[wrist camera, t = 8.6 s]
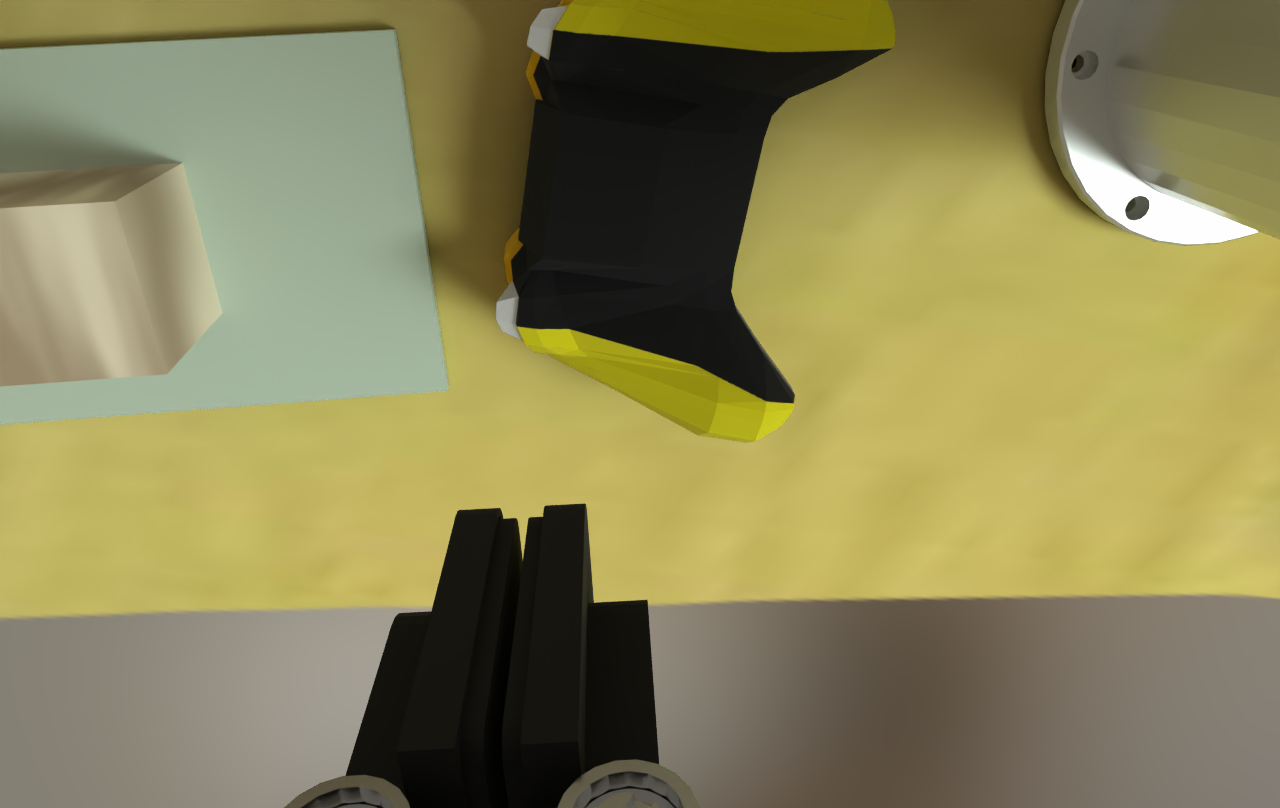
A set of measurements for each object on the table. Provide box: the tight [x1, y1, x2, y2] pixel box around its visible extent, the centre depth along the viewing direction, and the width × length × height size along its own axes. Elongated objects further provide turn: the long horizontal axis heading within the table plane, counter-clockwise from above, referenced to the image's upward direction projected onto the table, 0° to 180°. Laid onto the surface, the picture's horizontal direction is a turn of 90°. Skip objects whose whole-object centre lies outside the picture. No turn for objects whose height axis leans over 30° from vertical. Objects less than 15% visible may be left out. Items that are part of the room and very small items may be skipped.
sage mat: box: [0, 29, 449, 425], centre depth 29 cm, size 20×12×1 cm, turn 92°
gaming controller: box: [496, 0, 896, 442], centre depth 28 cm, size 15×6×10 cm
